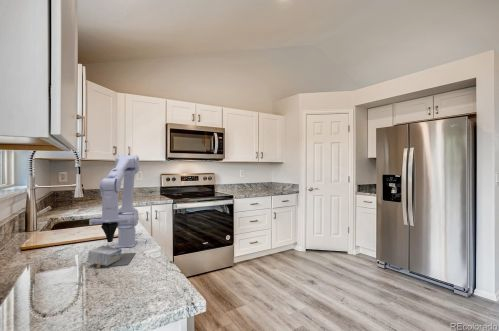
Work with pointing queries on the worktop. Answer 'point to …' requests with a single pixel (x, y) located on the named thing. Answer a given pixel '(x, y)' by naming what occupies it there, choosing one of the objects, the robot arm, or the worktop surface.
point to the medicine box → (104, 255)
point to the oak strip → (99, 266)
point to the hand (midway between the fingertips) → (110, 241)
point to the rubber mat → (122, 260)
